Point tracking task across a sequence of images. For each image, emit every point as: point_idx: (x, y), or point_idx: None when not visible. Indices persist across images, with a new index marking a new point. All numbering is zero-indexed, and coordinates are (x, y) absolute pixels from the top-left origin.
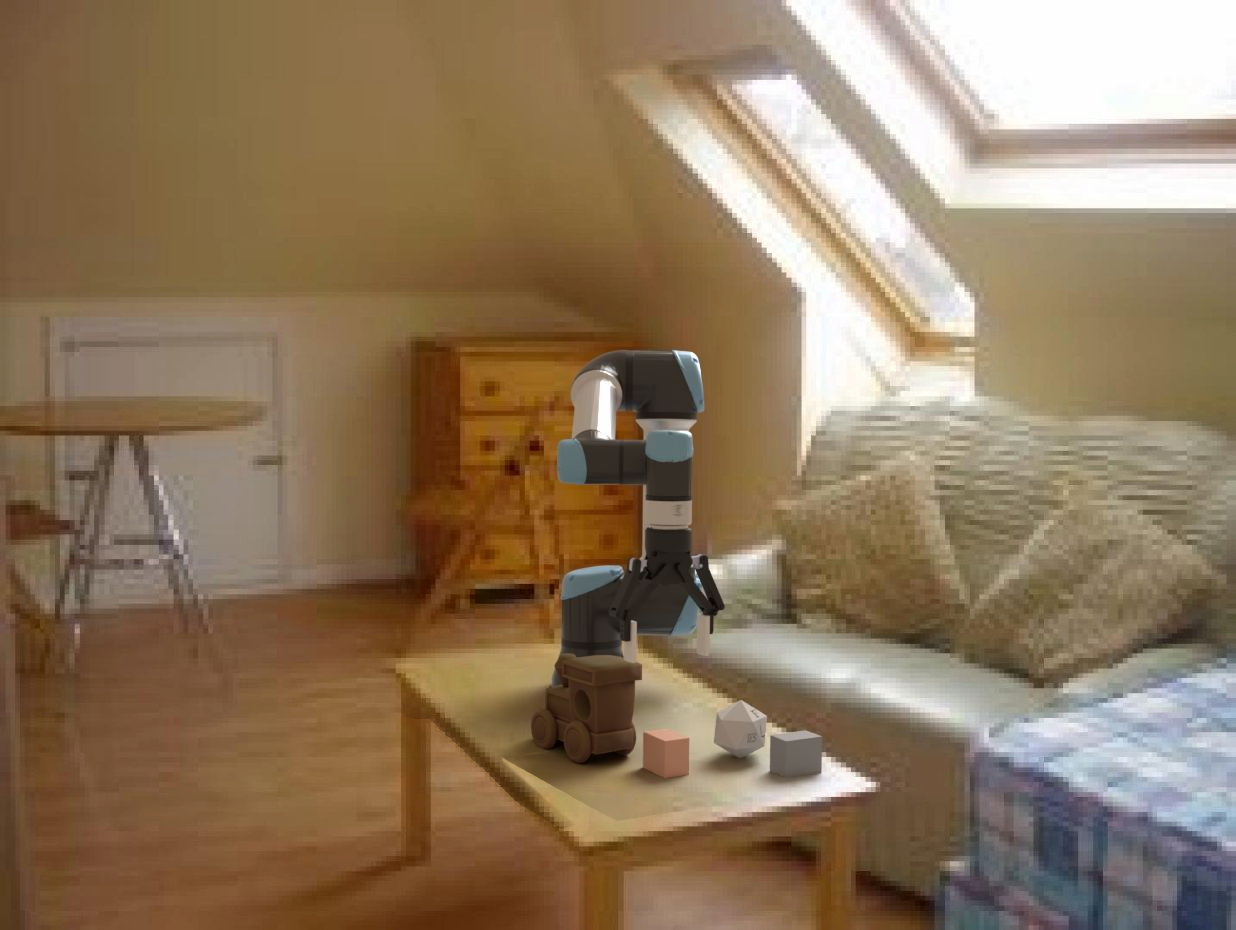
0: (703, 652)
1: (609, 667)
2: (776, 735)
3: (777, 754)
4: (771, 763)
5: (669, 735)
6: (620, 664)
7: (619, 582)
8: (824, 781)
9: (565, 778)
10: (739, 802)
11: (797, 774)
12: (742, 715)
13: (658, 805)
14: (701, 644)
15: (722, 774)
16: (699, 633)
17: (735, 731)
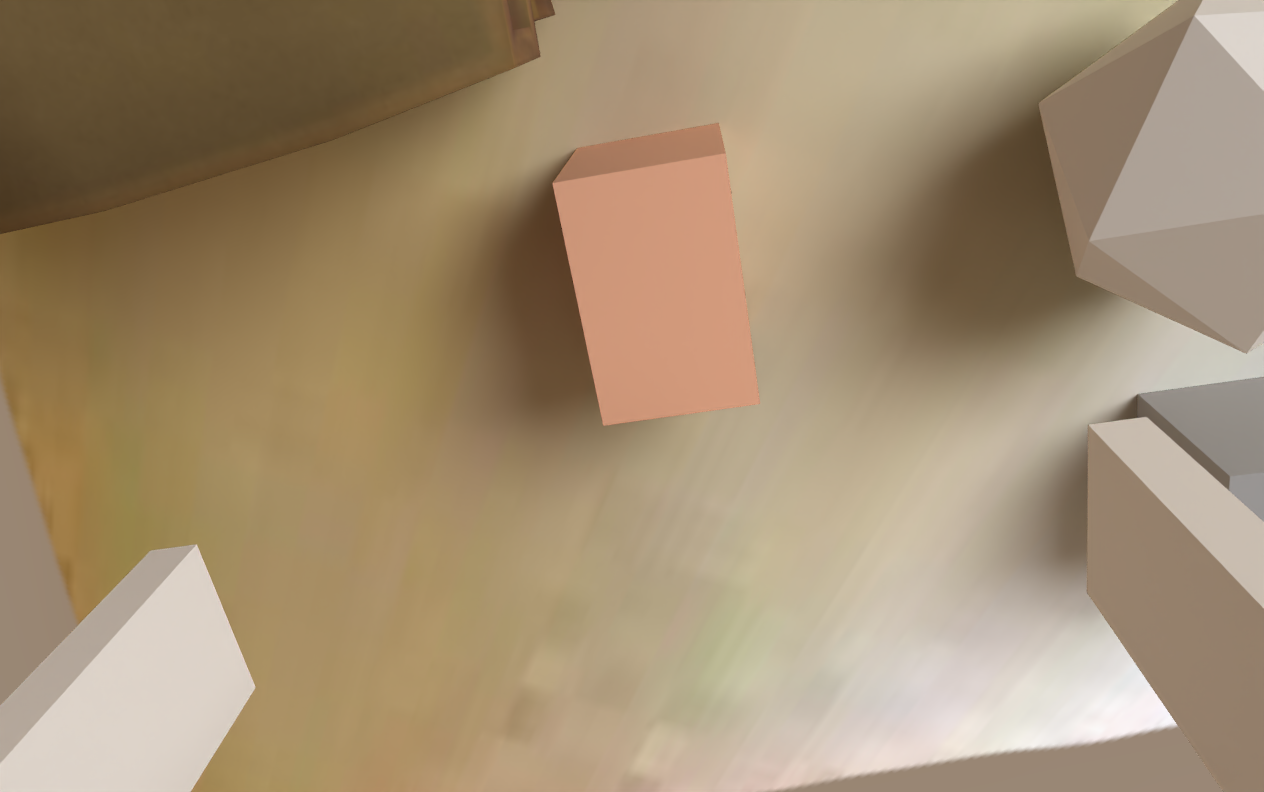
0: (1100, 579)
1: (102, 208)
2: (1257, 492)
3: None
4: (1156, 422)
5: (673, 320)
6: (242, 90)
7: None
8: None
9: (164, 224)
10: (768, 719)
11: None
12: (1238, 291)
13: (469, 668)
14: (1141, 591)
15: (898, 377)
16: (1217, 631)
17: (1125, 286)
